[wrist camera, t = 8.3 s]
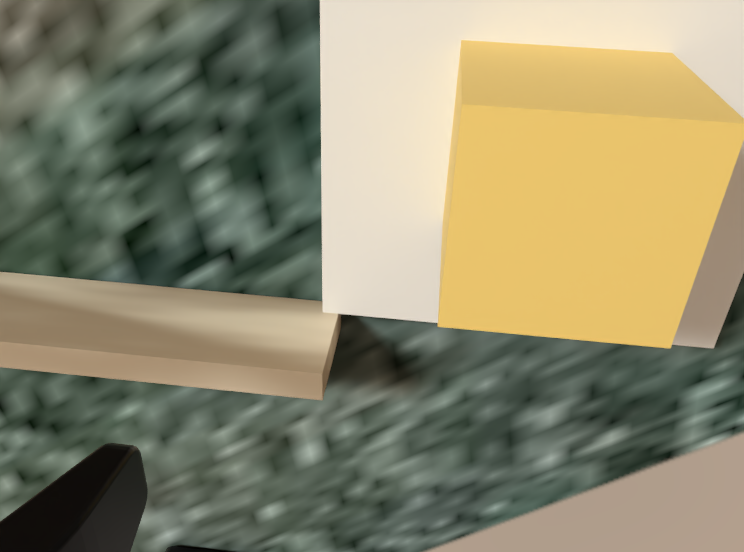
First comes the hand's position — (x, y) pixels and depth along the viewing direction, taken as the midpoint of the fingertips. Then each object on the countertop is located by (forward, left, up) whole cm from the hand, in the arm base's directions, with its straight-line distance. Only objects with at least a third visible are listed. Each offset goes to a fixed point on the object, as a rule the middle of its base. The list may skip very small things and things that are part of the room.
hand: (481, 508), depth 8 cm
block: (+1, -2, -11) cm, 11 cm away
